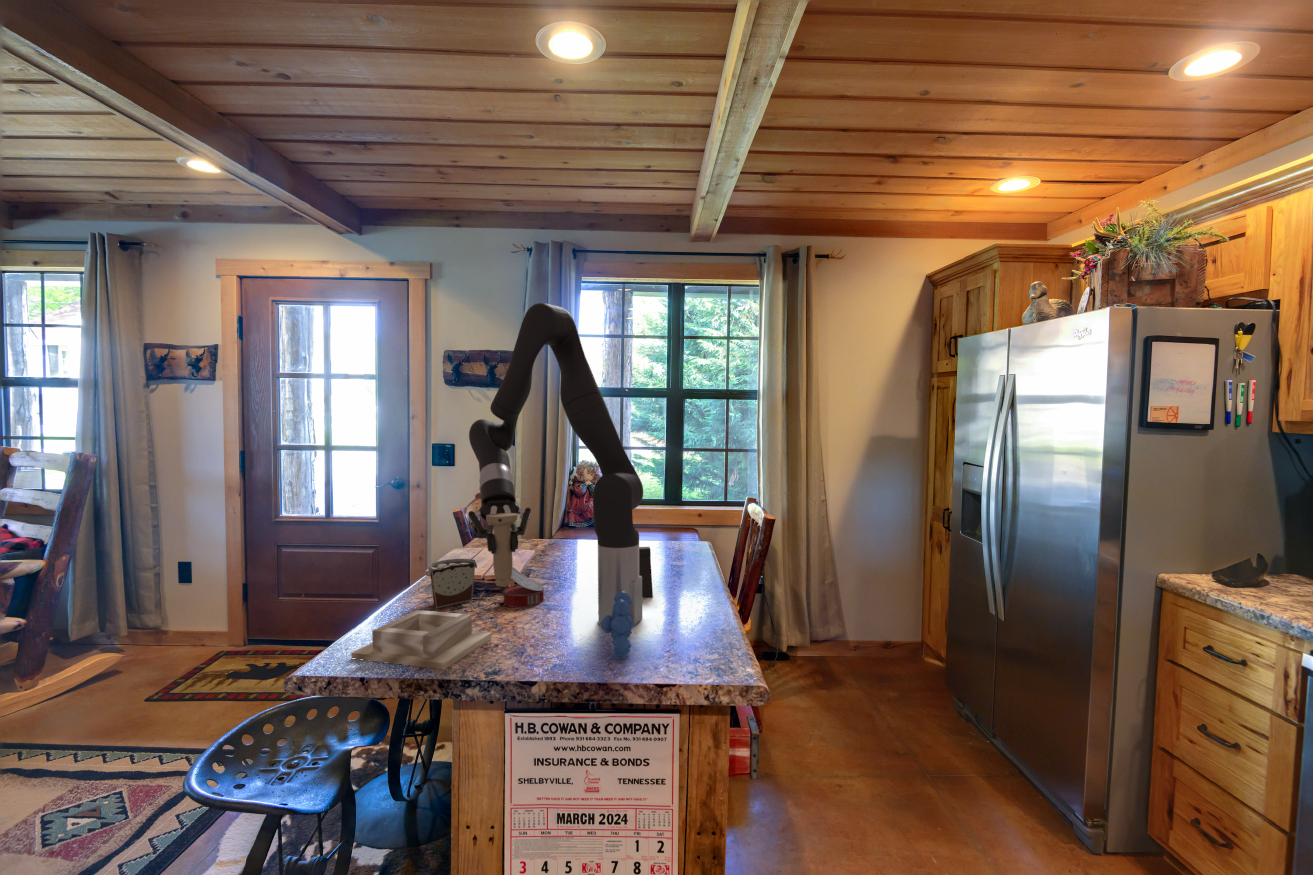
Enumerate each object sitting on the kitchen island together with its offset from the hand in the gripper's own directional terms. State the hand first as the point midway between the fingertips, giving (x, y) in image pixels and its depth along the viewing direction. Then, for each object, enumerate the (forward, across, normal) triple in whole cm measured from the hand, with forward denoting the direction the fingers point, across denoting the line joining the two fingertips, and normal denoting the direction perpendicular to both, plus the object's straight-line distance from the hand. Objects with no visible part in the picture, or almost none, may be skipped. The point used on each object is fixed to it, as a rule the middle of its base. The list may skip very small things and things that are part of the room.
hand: (503, 550), depth 126 cm
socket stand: (+14, -16, +10) cm, 24 cm away
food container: (-8, -11, +33) cm, 35 cm away
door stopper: (0, +36, +26) cm, 44 cm away
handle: (+4, 0, +7) cm, 8 cm away
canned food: (-3, +7, +29) cm, 30 cm away
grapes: (+27, +19, -1) cm, 33 cm away
